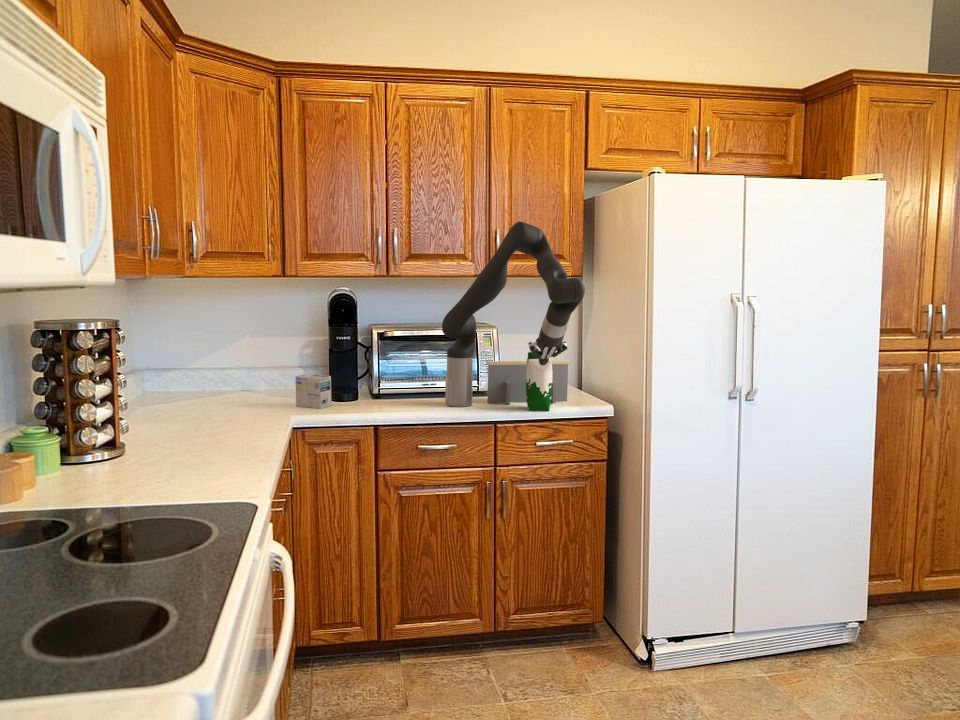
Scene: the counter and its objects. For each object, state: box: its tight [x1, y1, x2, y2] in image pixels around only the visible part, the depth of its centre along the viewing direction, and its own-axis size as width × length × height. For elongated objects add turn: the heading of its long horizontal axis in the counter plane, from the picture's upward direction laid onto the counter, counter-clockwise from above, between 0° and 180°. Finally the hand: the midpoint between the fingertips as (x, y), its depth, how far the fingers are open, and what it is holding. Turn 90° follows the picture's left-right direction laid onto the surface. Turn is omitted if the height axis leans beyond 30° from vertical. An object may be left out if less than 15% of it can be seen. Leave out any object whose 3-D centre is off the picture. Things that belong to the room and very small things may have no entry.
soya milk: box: [526, 351, 553, 412], centre depth 254 cm, size 9×9×20 cm
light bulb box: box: [295, 373, 332, 410], centre depth 254 cm, size 11×7×11 cm, turn 68°
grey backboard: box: [485, 359, 570, 406], centre depth 266 cm, size 31×7×15 cm, turn 102°
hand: (542, 363), depth 236 cm, fingers closed
